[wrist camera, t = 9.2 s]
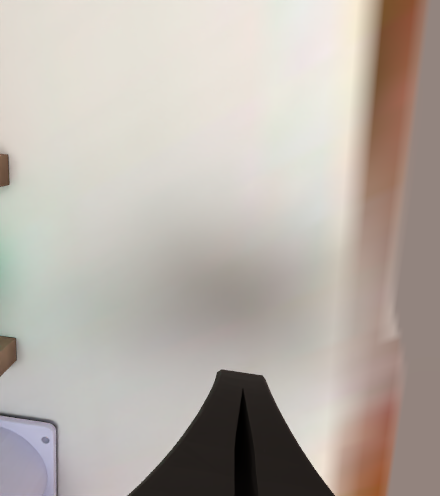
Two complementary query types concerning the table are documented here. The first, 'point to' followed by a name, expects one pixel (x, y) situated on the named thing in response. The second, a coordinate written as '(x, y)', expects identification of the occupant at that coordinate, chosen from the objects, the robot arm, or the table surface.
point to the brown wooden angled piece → (3, 348)
